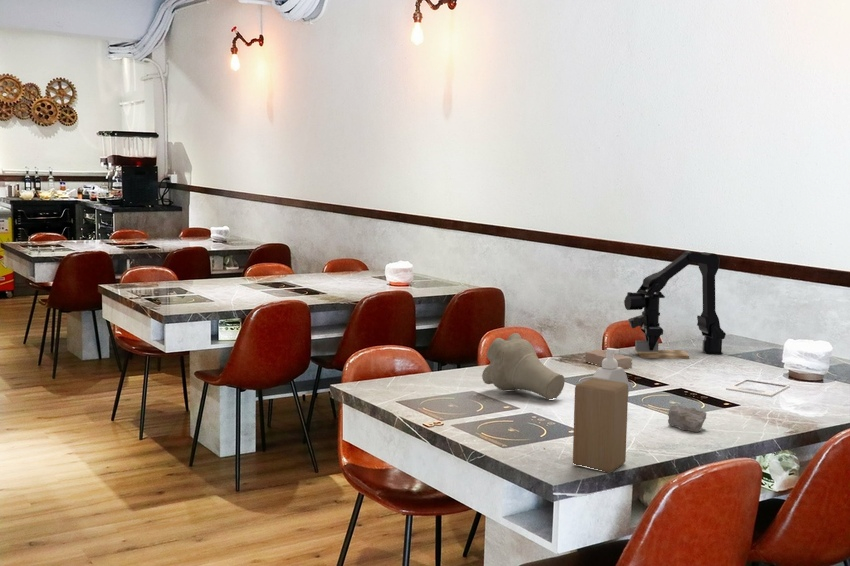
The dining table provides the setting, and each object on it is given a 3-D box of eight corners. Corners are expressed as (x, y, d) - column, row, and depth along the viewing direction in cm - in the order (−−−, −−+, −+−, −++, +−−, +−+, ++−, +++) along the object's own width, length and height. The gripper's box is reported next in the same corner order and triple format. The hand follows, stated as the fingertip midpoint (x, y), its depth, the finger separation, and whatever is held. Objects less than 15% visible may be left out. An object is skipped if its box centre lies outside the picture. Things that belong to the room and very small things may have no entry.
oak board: (683, 353, 350) (683, 350, 350) (689, 358, 339) (689, 355, 339) (636, 352, 352) (636, 349, 351) (641, 357, 341) (641, 354, 341)
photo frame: (725, 387, 290) (745, 378, 304) (725, 390, 290) (745, 381, 304) (771, 394, 281) (789, 385, 295) (771, 398, 281) (789, 388, 295)
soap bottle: (603, 424, 248) (606, 354, 245) (586, 421, 251) (589, 351, 249) (629, 412, 260) (631, 346, 258) (612, 409, 264) (615, 343, 261)
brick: (633, 368, 323) (633, 355, 322) (617, 371, 318) (617, 358, 317) (599, 361, 336) (599, 348, 335) (583, 363, 331) (584, 351, 330)
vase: (595, 358, 274) (527, 325, 293) (555, 357, 258) (486, 322, 277) (572, 422, 278) (507, 386, 296) (532, 425, 262) (465, 386, 280)
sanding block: (655, 350, 348) (656, 340, 347) (658, 353, 343) (658, 343, 343) (635, 350, 349) (635, 340, 348) (637, 353, 344) (637, 342, 343)
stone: (663, 429, 244) (664, 408, 243) (671, 422, 251) (672, 402, 250) (700, 434, 239) (701, 413, 238) (707, 427, 246) (708, 407, 245)
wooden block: (588, 455, 220) (591, 376, 217) (626, 463, 214) (630, 382, 212) (570, 466, 211) (573, 384, 209) (610, 474, 206) (613, 390, 203)
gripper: (626, 305, 353) (625, 344, 355) (634, 312, 335) (632, 353, 337) (655, 306, 353) (653, 344, 355) (664, 313, 334) (662, 354, 336)
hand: (649, 349), depth 346 cm, fingers closed on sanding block, 5 cm apart
